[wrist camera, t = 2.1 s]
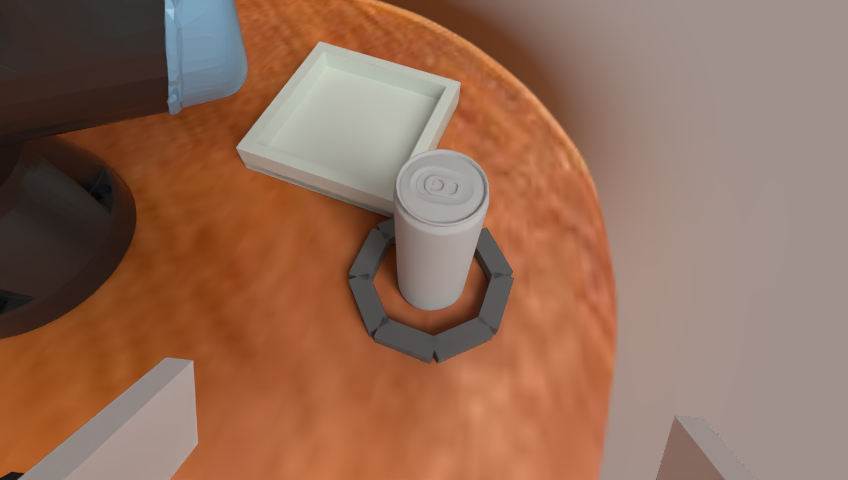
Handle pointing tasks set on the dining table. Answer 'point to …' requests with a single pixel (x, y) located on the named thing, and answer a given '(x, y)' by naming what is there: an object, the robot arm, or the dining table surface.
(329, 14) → the dining table surface
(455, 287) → the beverage can
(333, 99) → the tray
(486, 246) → the seat ring
